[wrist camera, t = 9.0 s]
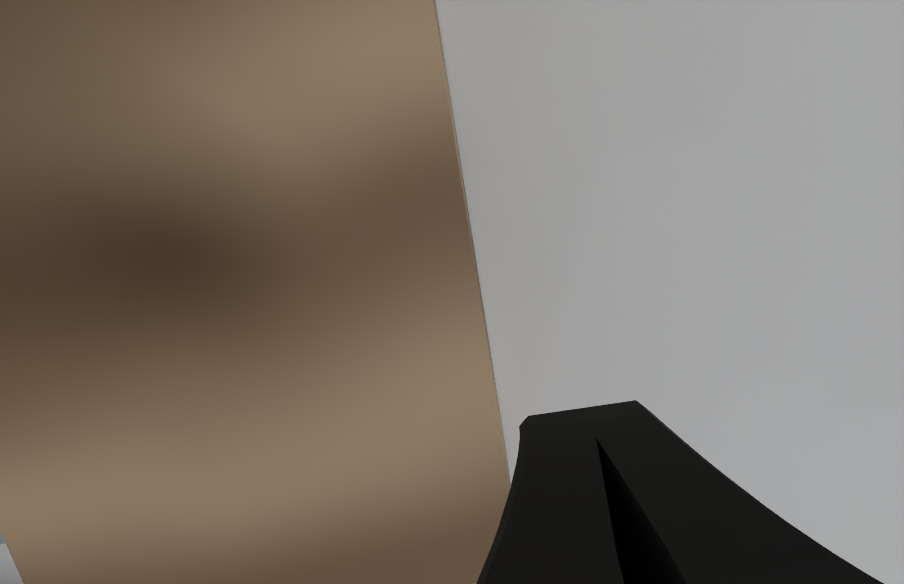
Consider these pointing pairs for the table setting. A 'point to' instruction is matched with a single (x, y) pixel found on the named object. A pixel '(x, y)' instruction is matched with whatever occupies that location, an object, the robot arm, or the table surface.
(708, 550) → the robot arm
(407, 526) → the walnut deck
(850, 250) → the table surface
